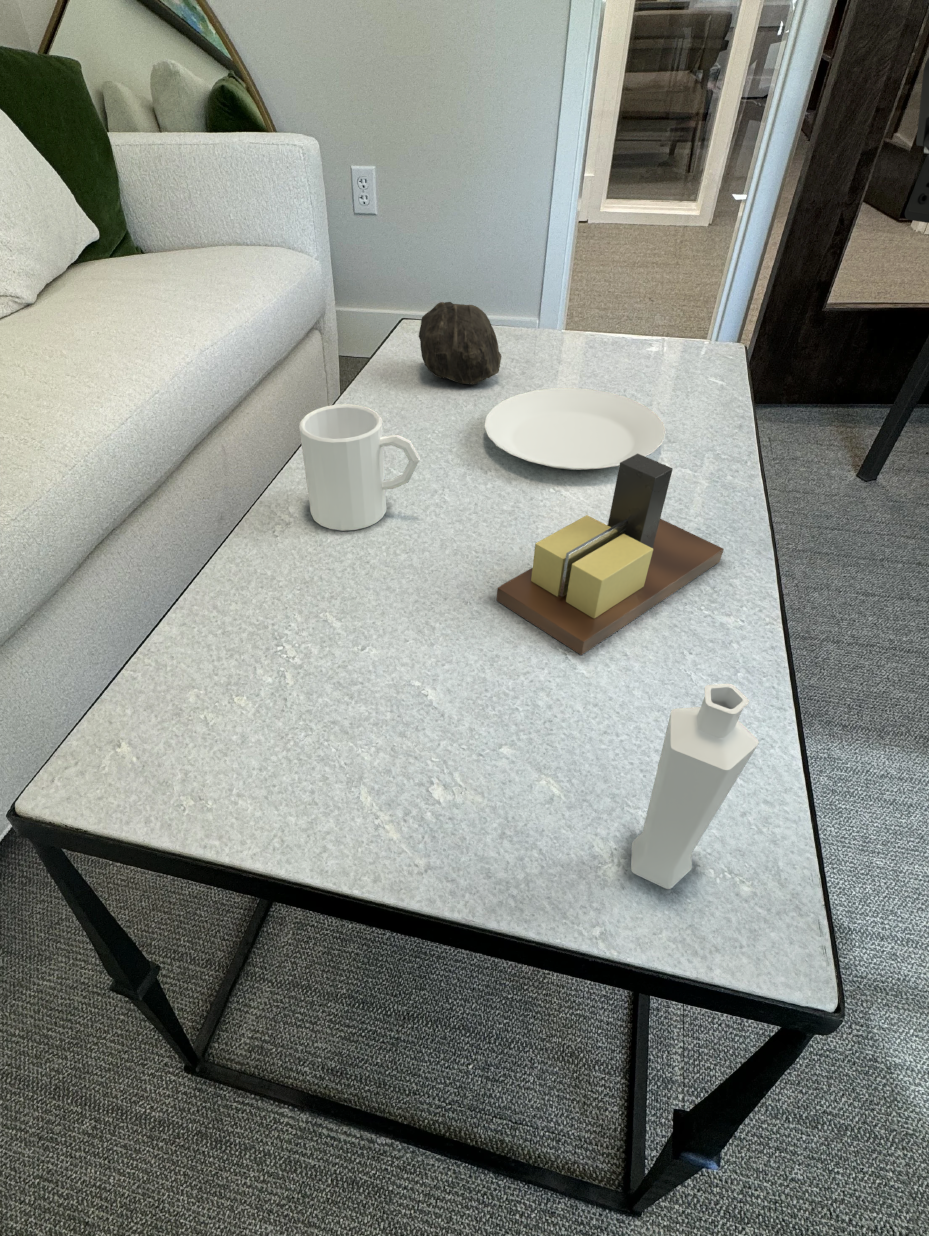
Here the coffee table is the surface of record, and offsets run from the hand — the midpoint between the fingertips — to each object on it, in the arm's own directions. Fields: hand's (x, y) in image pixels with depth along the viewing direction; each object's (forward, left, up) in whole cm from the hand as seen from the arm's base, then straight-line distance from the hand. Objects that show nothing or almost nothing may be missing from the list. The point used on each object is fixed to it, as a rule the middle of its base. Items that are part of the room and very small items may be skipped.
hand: (922, 218), depth 52 cm
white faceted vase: (-8, +41, -27) cm, 50 cm away
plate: (+28, -4, -27) cm, 39 cm away
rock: (+51, -11, -27) cm, 59 cm away
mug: (+36, +23, -27) cm, 51 cm away
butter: (+11, +21, -26) cm, 34 cm away
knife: (+10, +19, -25) cm, 33 cm away
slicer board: (+10, +17, -27) cm, 33 cm away
